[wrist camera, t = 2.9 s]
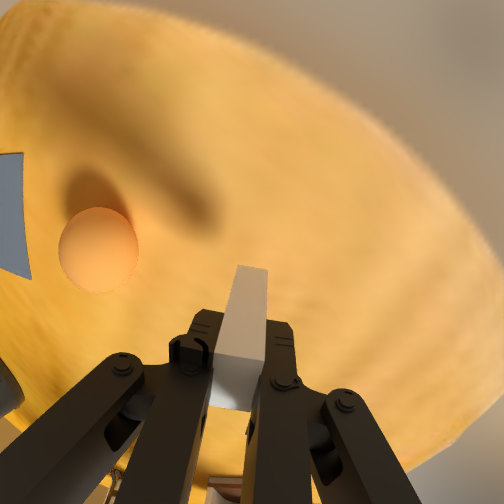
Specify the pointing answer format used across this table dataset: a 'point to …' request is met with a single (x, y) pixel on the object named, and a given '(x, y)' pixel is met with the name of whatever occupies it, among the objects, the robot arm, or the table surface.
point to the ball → (98, 250)
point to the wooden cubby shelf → (223, 490)
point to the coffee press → (113, 487)
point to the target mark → (12, 217)
